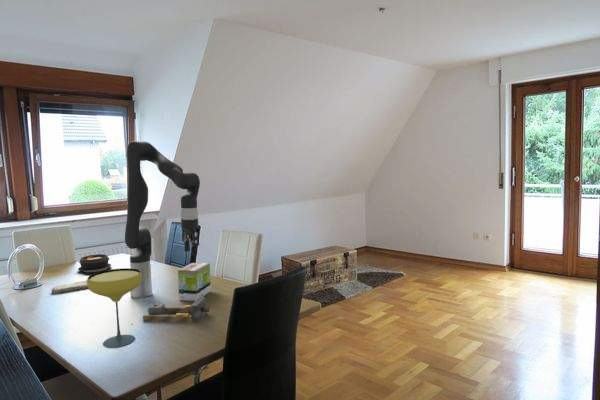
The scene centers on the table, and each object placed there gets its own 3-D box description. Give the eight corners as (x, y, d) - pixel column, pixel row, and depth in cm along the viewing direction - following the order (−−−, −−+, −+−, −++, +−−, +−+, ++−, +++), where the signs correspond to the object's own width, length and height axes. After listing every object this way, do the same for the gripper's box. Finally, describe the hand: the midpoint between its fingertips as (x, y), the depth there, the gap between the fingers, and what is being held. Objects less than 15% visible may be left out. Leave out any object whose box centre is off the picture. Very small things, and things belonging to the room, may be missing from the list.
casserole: (77, 268, 266) (76, 255, 265) (109, 263, 276) (108, 251, 275) (79, 277, 245) (78, 263, 244) (114, 272, 254) (113, 258, 253)
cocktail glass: (90, 356, 143) (85, 284, 140) (93, 336, 159) (88, 272, 157) (147, 346, 150) (142, 277, 147) (144, 328, 166) (140, 265, 164)
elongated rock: (50, 294, 219) (54, 299, 211) (48, 284, 218) (52, 289, 210) (120, 277, 241) (125, 281, 233) (119, 268, 240) (124, 272, 232)
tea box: (198, 301, 197) (196, 270, 195) (178, 300, 199) (176, 269, 197) (211, 291, 211) (210, 262, 210) (192, 290, 213) (191, 262, 212)
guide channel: (143, 321, 173) (142, 305, 172) (155, 312, 184) (154, 296, 183) (204, 322, 170) (203, 306, 169) (213, 312, 181) (212, 297, 180)
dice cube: (153, 315, 181) (152, 303, 180) (165, 314, 180) (164, 303, 180) (149, 319, 176) (148, 307, 175) (160, 319, 175) (160, 307, 175)
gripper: (175, 216, 193) (177, 251, 194) (187, 220, 181) (188, 257, 183) (191, 215, 197) (192, 249, 199) (203, 218, 186) (205, 254, 187)
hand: (190, 253), depth 191 cm, fingers open, 8 cm apart
